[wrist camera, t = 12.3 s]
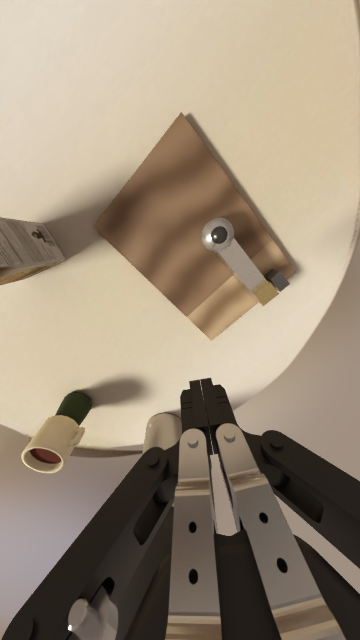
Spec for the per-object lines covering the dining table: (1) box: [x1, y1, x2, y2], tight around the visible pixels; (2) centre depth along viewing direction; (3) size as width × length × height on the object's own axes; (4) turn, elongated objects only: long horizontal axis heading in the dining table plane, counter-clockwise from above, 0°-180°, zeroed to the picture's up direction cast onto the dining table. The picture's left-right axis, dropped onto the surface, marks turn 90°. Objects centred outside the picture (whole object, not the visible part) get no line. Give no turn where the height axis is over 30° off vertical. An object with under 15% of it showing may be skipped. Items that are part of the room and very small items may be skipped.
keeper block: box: [263, 269, 289, 292], centre depth 31 cm, size 3×2×3 cm, turn 44°
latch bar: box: [200, 218, 279, 306], centre depth 29 cm, size 15×4×5 cm, turn 43°
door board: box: [93, 112, 295, 340], centre depth 31 cm, size 28×19×1 cm
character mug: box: [22, 392, 92, 473], centre depth 38 cm, size 11×7×13 cm, turn 105°
